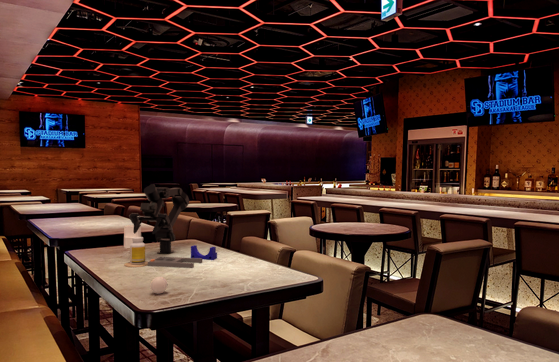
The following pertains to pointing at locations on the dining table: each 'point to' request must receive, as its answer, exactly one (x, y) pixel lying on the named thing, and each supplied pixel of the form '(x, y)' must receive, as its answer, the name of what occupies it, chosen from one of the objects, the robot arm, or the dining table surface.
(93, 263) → the dining table surface
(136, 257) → the pill bottle
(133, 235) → the cylinder with rectangular tab
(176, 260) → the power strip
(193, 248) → the cable clip
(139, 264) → the cork coaster
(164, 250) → the robot arm
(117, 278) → the dining table surface
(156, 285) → the plastic egg
